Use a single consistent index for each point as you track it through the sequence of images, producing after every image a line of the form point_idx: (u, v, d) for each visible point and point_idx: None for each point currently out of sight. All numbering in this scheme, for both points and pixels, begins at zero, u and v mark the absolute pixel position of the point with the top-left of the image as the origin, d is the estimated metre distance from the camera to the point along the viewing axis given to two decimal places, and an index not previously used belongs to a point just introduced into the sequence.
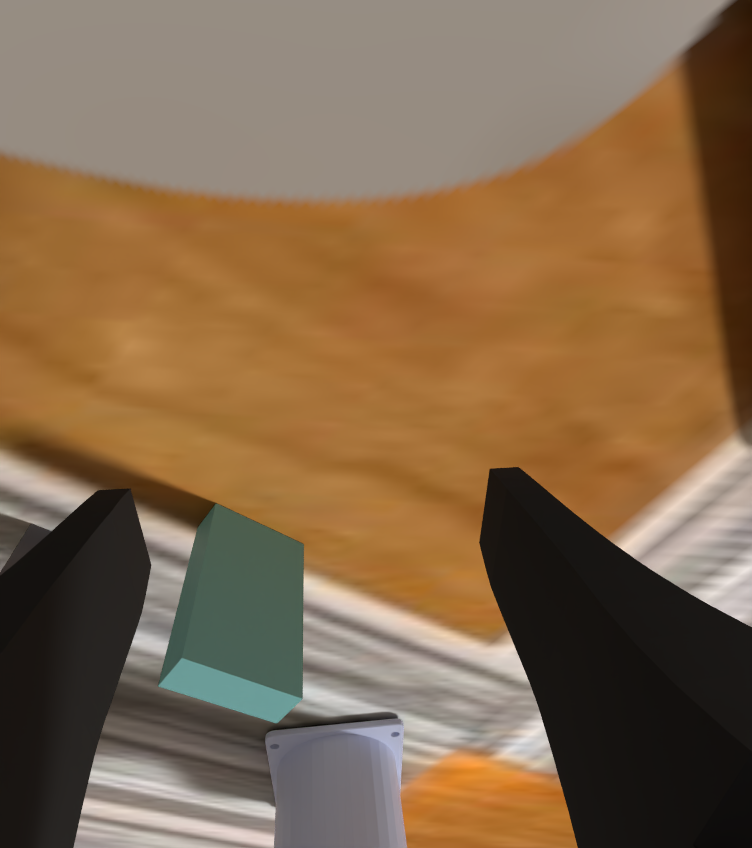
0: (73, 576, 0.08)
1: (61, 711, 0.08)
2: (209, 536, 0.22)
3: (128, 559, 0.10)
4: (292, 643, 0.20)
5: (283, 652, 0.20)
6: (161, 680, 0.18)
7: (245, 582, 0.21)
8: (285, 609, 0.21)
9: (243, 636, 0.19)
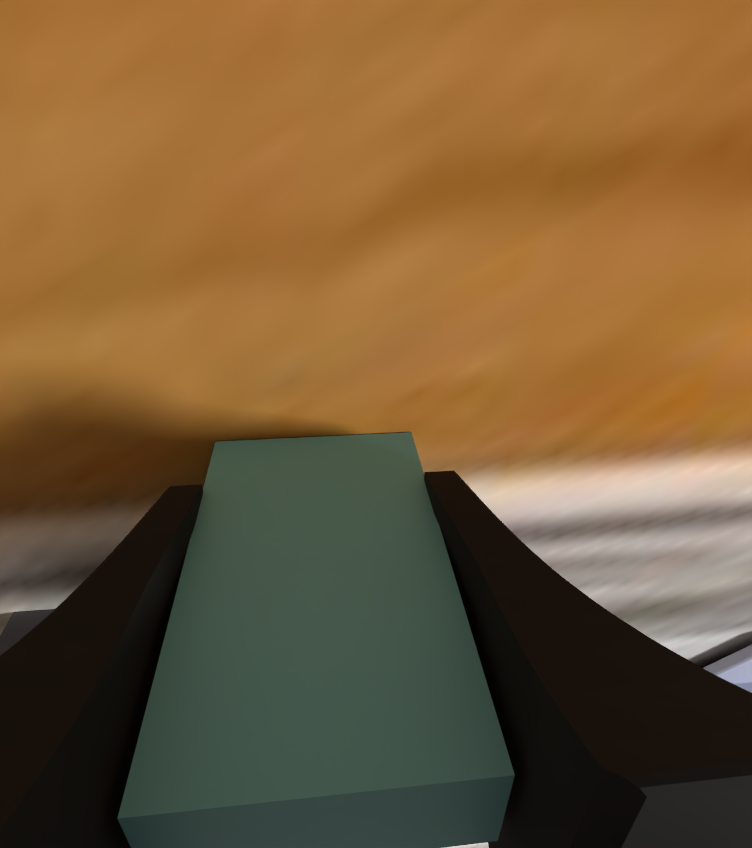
0: (163, 569, 0.08)
1: None
2: (203, 498, 0.11)
3: None
4: (439, 632, 0.08)
5: (420, 665, 0.08)
6: None
7: (293, 548, 0.10)
8: (402, 562, 0.09)
9: (302, 673, 0.07)
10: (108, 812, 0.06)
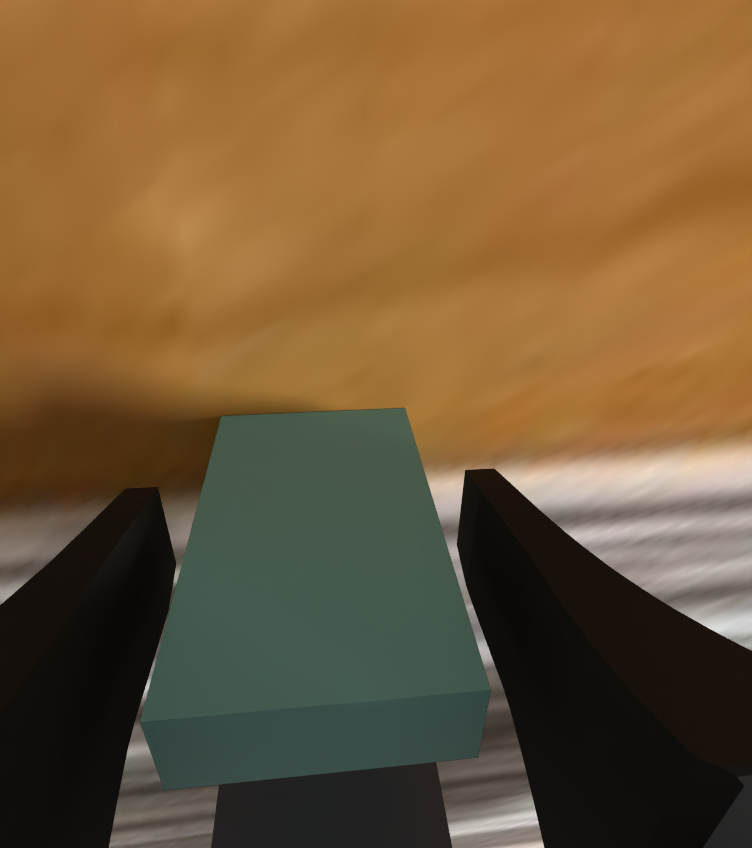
0: (108, 573, 0.08)
1: (98, 708, 0.08)
2: (210, 465, 0.11)
3: (156, 557, 0.10)
4: (426, 575, 0.09)
5: (409, 602, 0.08)
6: (162, 776, 0.08)
7: (294, 507, 0.10)
8: (394, 519, 0.10)
9: (302, 608, 0.08)
10: (30, 820, 0.06)
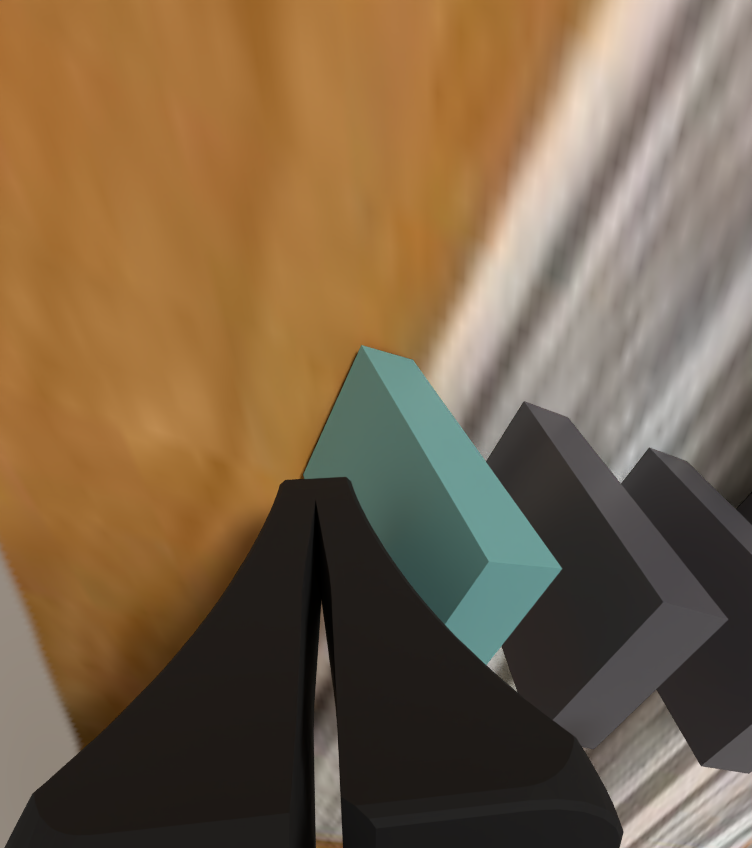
0: (308, 559, 0.09)
1: (308, 689, 0.08)
2: None
3: (318, 546, 0.11)
4: (429, 498, 0.10)
5: (430, 531, 0.10)
6: None
7: None
8: (397, 465, 0.12)
9: None
10: (305, 790, 0.06)
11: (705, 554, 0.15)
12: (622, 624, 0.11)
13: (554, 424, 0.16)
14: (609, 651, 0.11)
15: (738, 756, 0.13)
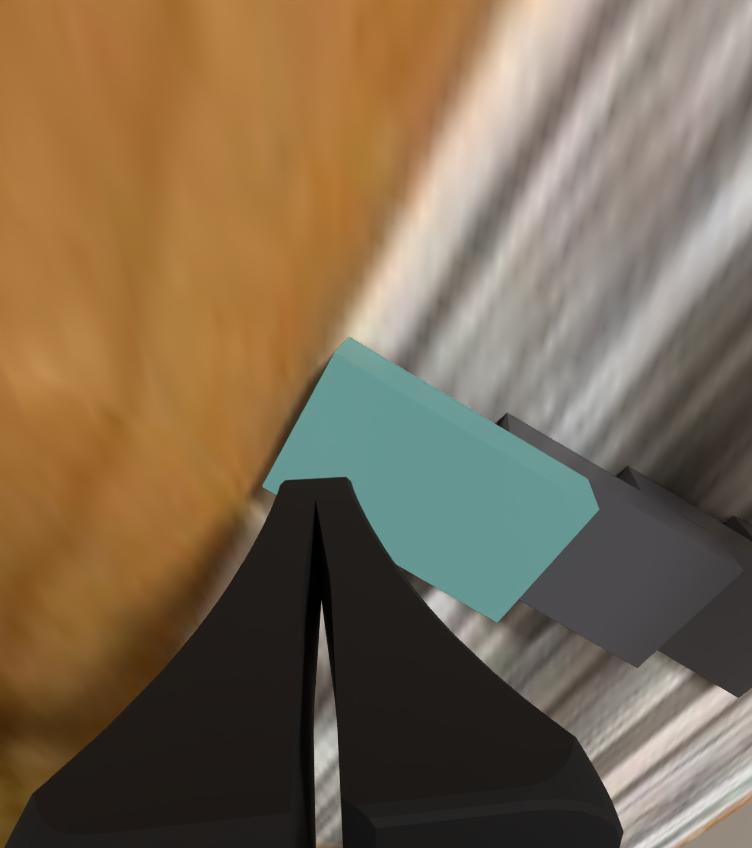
0: (307, 559, 0.09)
1: (308, 689, 0.08)
2: None
3: (318, 546, 0.11)
4: (518, 481, 0.14)
5: (526, 503, 0.14)
6: None
7: (407, 505, 0.15)
8: (461, 463, 0.14)
9: (489, 546, 0.15)
10: (305, 791, 0.06)
11: None
12: (708, 590, 0.16)
13: (536, 441, 0.16)
14: (699, 605, 0.16)
15: None
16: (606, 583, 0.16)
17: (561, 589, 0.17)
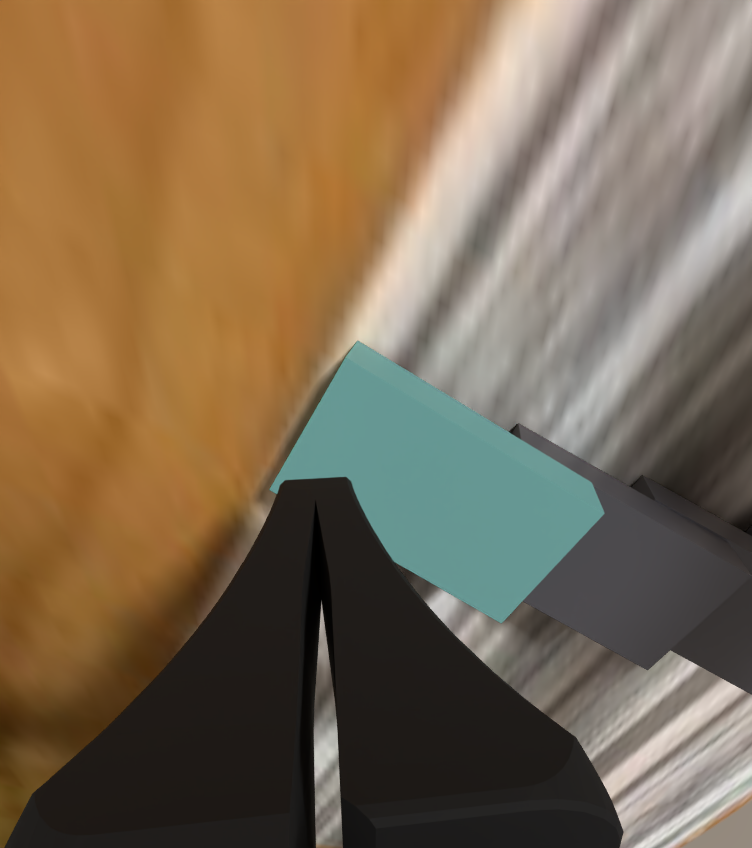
0: (307, 559, 0.09)
1: (308, 689, 0.08)
2: None
3: (318, 546, 0.11)
4: (525, 486, 0.14)
5: (533, 506, 0.14)
6: None
7: (415, 508, 0.15)
8: (470, 467, 0.14)
9: (495, 548, 0.15)
10: (305, 791, 0.06)
11: None
12: (717, 594, 0.16)
13: (548, 451, 0.16)
14: (708, 609, 0.16)
15: None
16: (617, 589, 0.17)
17: (573, 596, 0.17)
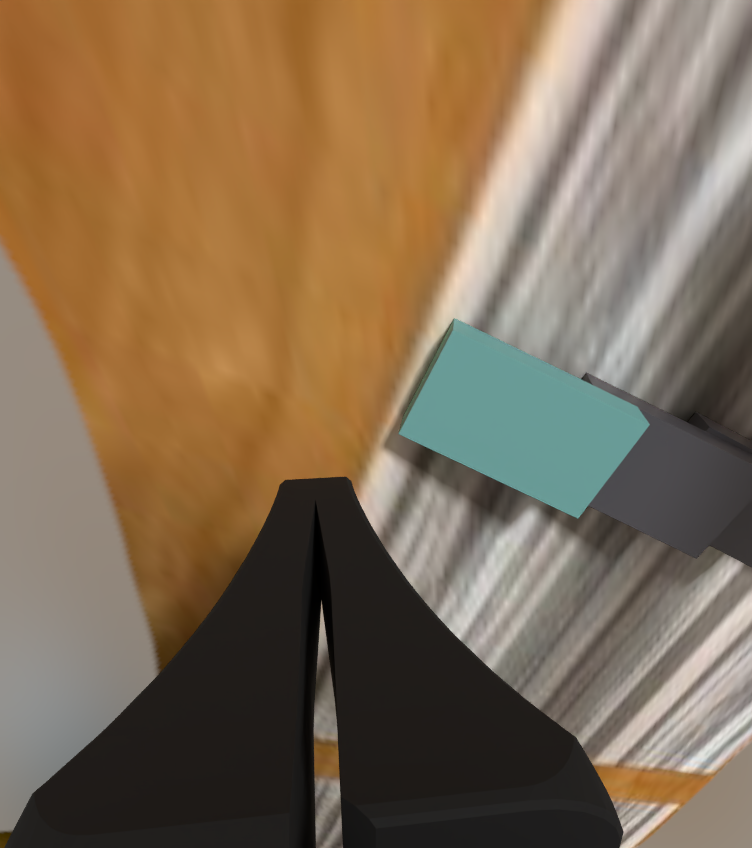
0: (308, 558, 0.09)
1: (308, 689, 0.08)
2: (448, 456, 0.21)
3: (318, 546, 0.11)
4: (589, 410, 0.19)
5: (596, 425, 0.19)
6: None
7: (508, 436, 0.20)
8: (547, 401, 0.19)
9: (570, 460, 0.20)
10: (305, 790, 0.06)
11: None
12: (748, 492, 0.21)
13: (611, 391, 0.21)
14: (741, 505, 0.21)
15: None
16: (670, 494, 0.22)
17: (636, 502, 0.22)
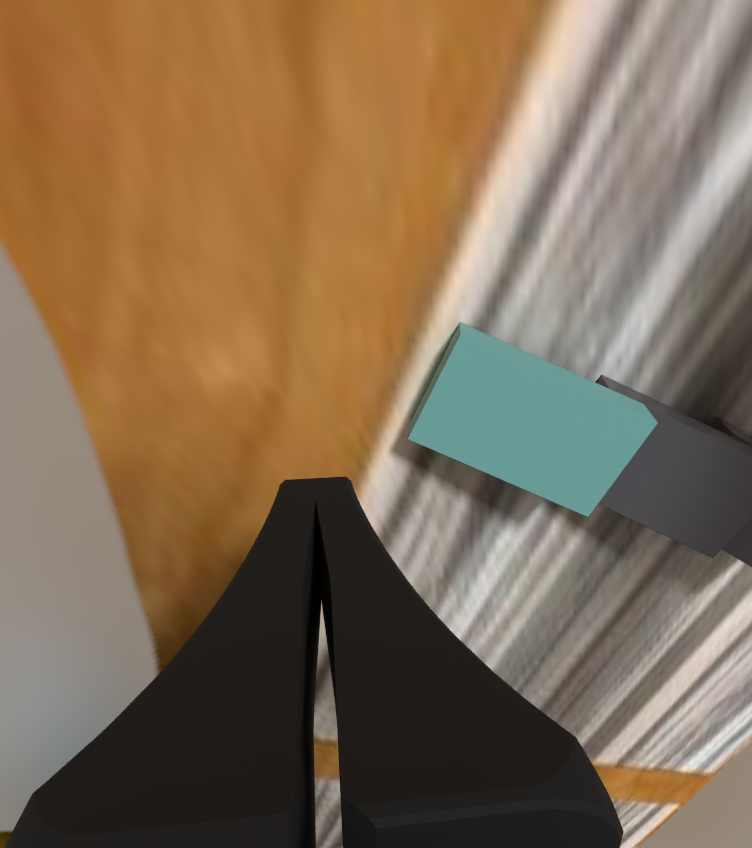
0: (308, 558, 0.09)
1: (308, 689, 0.08)
2: (458, 459, 0.21)
3: (318, 546, 0.11)
4: (597, 410, 0.19)
5: (605, 425, 0.20)
6: None
7: (517, 438, 0.20)
8: (556, 402, 0.19)
9: (579, 460, 0.20)
10: (305, 790, 0.06)
11: None
12: None
13: (627, 392, 0.21)
14: None
15: None
16: (686, 494, 0.22)
17: (652, 502, 0.22)
